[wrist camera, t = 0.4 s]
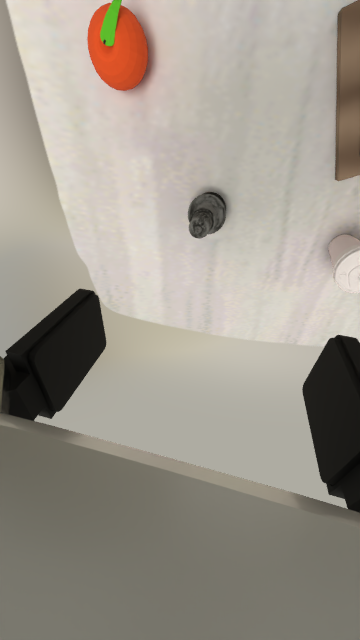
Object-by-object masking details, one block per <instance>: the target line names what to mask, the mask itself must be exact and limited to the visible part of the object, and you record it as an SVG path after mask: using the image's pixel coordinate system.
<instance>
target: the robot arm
mask: <svg viewBox="0 0 360 640" xmlns="http://www.w3.org/2000/svg"><path fill="white" fill-rule="evenodd" d="M105 347H106V337H105V331H104V326H103V320H102V314H101V308H100V302H99V297H98V296H97V295H95V293H94V291H90V290H85V289H79V290H77V291H76V292H75V293H74V294H72V295H71V296H70V297H69V298H68V299H66V300H65V301H64V302H63V303H62V304H61V305H59V306H58V307H57V308H56V309H55V310H54V311H52V312H51V313H50V314H49V315H48V316H46V317H45V318H44V319H43V320H42V321H41V322H40V323H38V324H37V325H36V326H35V327H34V328H32V329H31V330H30V331H29V332H28V333H27V334H25V336H23V337H22V338H21V339H20V340H18V341H17V342H16V343H15V344H13V345H12V346H11V347H10V348H9V349H8V350H6V353H7V356H6V357H5V358H4V359H3V358H2V357H1V356H0V640H360V343H359V341H358V340H357V339H356V338H353V337H348V336H342V335H337V336H336V337H335V338H330V339H329V340H328V342H327V344H326V346H325V347H324V349H323V351H322V353H321V355H320V356H319V358H318V360H317V361H316V363H315V365H314V367H313V368H312V370H311V372H310V374H309V376H308V377H307V379H306V381H305V383H304V385H303V396H304V401H305V406H306V410H307V415H308V420H309V425H310V429H311V434H312V439H313V444H314V448H315V453H316V458H317V462H318V467H319V472H320V476H321V479H322V481H323V482H324V483H326V484H327V488H328V493H329V495H333V496H336V497H340V498H343V499H345V501H346V504H347V508H348V509H346V508H342V507H339V506H336V505H333V504H329V503H326V502H323V501H319V500H316V499H313V498H309V497H306V496H303V495H299V494H296V493H292V492H289V491H285V490H282V489H278V488H275V487H271V486H268V485H264V484H260V483H256V482H253V481H250V480H246V479H242V478H239V477H235V476H232V475H228V474H225V473H221V472H218V471H214V470H211V469H207V468H204V467H200V466H196V465H193V464H189V463H186V462H182V461H178V460H175V459H171V458H168V457H164V456H161V455H157V454H153V453H150V452H146V451H143V450H139V449H135V448H132V447H128V446H124V445H121V444H117V443H113V442H110V441H106V440H103V439H98V438H95V437H91V436H88V435H84V434H80V433H76V432H73V431H69V430H66V429H62V428H58V427H55V426H51V425H47V424H43V423H39V422H35V421H34V419H35V418H36V417H37V415H38V414H39V416H43V417H47V418H50V419H52V417H53V416H54V414H55V413H56V412H58V411H60V410H62V408H63V407H64V406H65V404H66V403H67V401H68V400H69V399H70V397H71V396H72V394H73V393H74V391H75V390H76V389H77V387H78V386H79V384H80V383H81V382H82V380H83V379H84V377H85V376H86V374H87V373H88V372H89V370H90V369H91V367H92V366H93V365H94V363H95V362H96V360H97V359H98V358H99V356H100V355H101V353H102V352H103V350H104V349H105Z"/></svg>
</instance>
